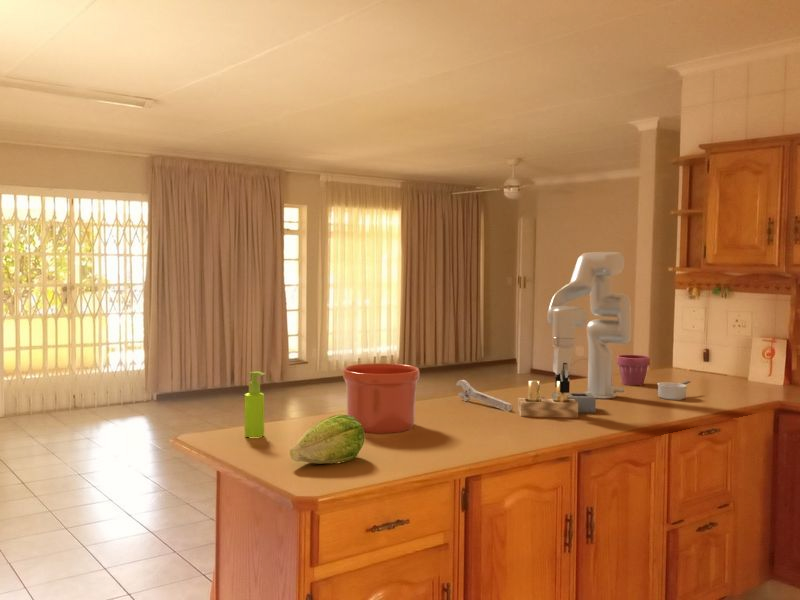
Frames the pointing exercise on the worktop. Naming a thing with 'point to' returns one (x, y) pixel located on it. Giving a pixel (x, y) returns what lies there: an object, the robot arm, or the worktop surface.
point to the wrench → (481, 396)
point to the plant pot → (633, 368)
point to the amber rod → (533, 390)
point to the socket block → (582, 401)
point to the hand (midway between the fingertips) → (562, 390)
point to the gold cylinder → (561, 395)
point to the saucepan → (672, 390)
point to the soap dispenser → (254, 408)
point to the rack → (547, 408)
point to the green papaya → (330, 441)
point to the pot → (381, 396)
